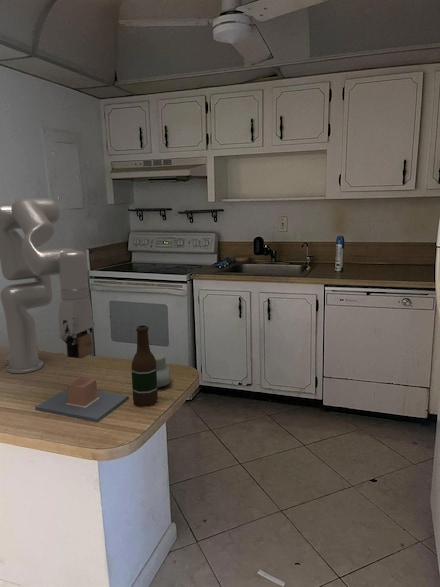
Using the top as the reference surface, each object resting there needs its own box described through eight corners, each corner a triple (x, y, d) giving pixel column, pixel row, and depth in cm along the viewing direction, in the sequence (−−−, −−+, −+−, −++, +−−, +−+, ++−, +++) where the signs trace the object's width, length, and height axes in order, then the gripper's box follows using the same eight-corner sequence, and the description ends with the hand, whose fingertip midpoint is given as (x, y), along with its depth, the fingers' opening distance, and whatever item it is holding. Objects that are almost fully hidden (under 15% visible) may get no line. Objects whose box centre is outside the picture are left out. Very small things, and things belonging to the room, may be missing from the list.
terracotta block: (68, 403, 132) (66, 384, 131) (81, 395, 138) (79, 377, 137) (84, 406, 130) (83, 387, 129) (97, 398, 136) (96, 379, 135)
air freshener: (169, 390, 144) (168, 361, 142) (143, 391, 143) (142, 362, 141) (170, 377, 154) (169, 350, 152) (146, 378, 154) (144, 351, 152)
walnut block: (67, 356, 130) (65, 337, 128) (78, 351, 134) (77, 332, 133) (81, 358, 128) (79, 338, 127) (92, 353, 132) (90, 334, 131)
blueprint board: (35, 409, 131) (35, 406, 131) (71, 388, 145) (71, 385, 145) (97, 422, 123) (97, 418, 123) (128, 398, 138) (128, 395, 138)
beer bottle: (137, 409, 131) (133, 331, 126) (129, 399, 137) (125, 325, 132) (162, 403, 134) (159, 327, 129) (153, 394, 141) (150, 321, 136)
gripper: (83, 288, 136) (87, 344, 140) (43, 299, 121) (49, 362, 124) (103, 289, 134) (107, 346, 137) (65, 300, 118) (71, 365, 122)
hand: (79, 353), depth 131 cm, fingers closed on walnut block, 5 cm apart
